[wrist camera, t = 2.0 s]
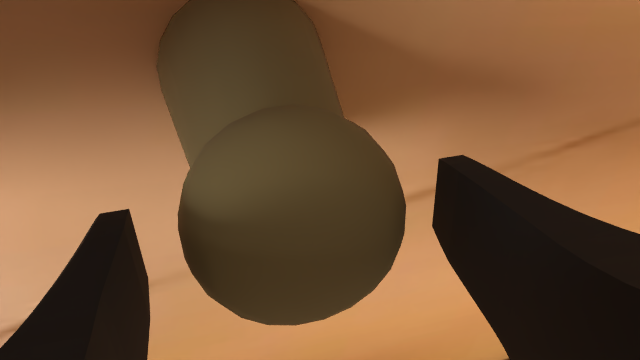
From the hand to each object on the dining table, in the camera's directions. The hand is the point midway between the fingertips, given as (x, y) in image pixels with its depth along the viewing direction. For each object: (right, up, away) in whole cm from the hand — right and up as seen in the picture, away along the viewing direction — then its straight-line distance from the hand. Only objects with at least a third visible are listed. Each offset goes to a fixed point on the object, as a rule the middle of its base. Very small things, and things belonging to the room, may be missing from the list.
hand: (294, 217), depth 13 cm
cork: (-2, +5, +8) cm, 10 cm away
